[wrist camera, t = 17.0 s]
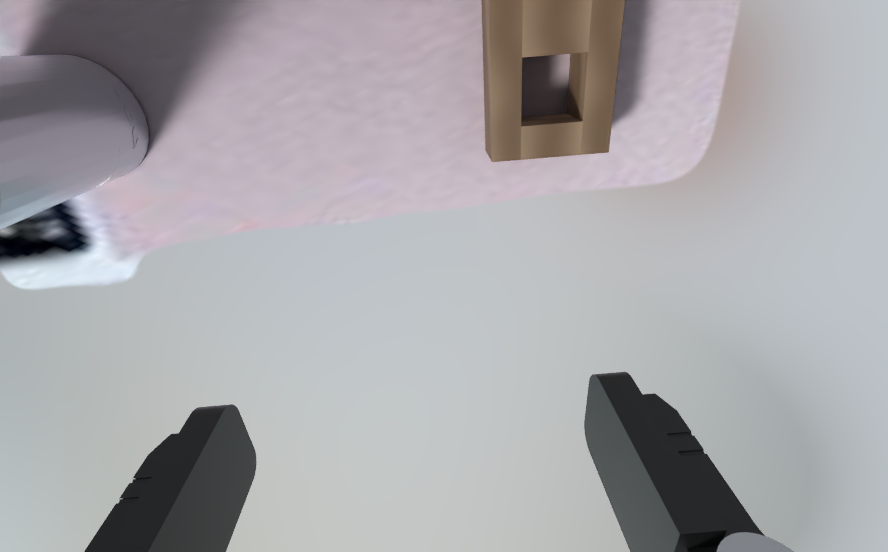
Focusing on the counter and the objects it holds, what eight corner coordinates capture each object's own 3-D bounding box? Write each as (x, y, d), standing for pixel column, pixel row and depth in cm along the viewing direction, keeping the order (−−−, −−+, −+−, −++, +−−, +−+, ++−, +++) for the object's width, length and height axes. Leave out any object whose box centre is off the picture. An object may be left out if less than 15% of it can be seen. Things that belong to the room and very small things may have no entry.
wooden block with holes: (485, 150, 37) (492, 162, 33) (477, -150, 28) (486, -179, 24) (590, 141, 37) (609, 152, 33) (617, -161, 28) (647, -192, 24)
